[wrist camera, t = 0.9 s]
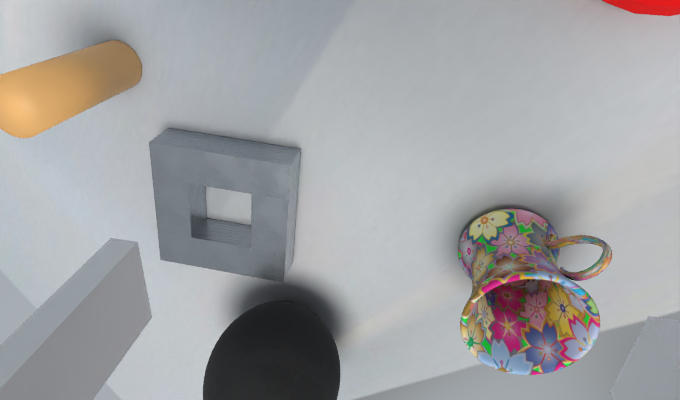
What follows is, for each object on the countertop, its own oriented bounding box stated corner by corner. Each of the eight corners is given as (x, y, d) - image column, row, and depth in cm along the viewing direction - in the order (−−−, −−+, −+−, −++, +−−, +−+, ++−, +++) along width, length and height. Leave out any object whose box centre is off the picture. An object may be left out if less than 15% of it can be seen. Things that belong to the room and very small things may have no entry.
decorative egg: (319, 260, 47) (278, 384, 34) (368, 350, 51) (349, 489, 38) (216, 290, 51) (144, 411, 38) (270, 371, 55) (223, 504, 42)
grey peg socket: (168, 127, 42) (149, 142, 39) (300, 149, 41) (291, 165, 38) (177, 239, 48) (160, 259, 45) (293, 260, 47) (283, 282, 44)
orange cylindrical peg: (93, 37, 39) (-26, 71, 29) (139, 43, 39) (35, 80, 29) (100, 84, 41) (-9, 133, 31) (144, 91, 41) (48, 142, 30)
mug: (499, 302, 46) (519, 393, 36) (431, 243, 44) (433, 324, 35) (612, 228, 40) (668, 313, 31) (539, 157, 38) (576, 225, 29)
